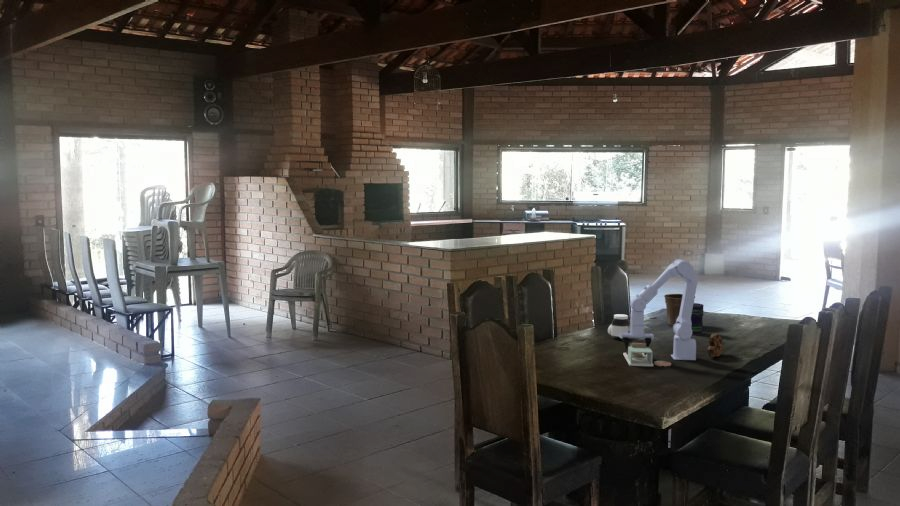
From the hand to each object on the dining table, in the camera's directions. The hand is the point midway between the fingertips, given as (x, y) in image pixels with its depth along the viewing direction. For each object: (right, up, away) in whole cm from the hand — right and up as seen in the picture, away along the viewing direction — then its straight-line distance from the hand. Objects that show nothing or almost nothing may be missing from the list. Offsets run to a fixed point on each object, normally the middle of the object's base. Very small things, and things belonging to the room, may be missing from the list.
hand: (636, 354), depth 327 cm
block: (0, -2, 0) cm, 2 cm away
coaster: (+8, -3, -12) cm, 15 cm away
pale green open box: (-1, -1, -10) cm, 10 cm away
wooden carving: (+37, -2, +3) cm, 37 cm away
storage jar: (+43, +4, +52) cm, 67 cm away
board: (0, -2, -5) cm, 5 cm away
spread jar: (+1, +3, +41) cm, 41 cm away
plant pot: (+42, +6, +72) cm, 83 cm away
